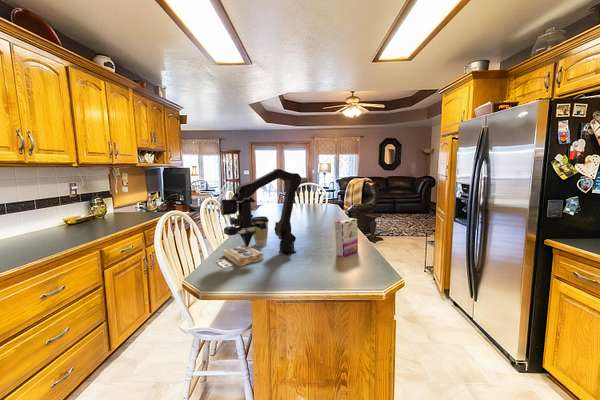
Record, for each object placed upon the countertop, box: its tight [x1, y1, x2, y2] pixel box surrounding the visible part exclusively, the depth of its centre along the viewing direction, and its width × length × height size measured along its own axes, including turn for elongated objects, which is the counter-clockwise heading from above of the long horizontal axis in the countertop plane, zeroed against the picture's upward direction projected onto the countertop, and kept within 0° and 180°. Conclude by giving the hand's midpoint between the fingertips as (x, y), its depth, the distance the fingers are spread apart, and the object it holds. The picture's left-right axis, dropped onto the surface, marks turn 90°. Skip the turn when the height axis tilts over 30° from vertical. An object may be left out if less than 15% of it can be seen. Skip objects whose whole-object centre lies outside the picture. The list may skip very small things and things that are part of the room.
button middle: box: [239, 248, 246, 254], centre depth 128 cm, size 3×3×2 cm
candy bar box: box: [334, 217, 359, 258], centre depth 129 cm, size 11×5×16 cm, turn 131°
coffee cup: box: [252, 215, 270, 247], centre depth 148 cm, size 10×10×15 cm
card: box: [217, 258, 234, 269], centre depth 122 cm, size 4×10×1 cm, turn 38°
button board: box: [222, 244, 264, 267], centre depth 129 cm, size 12×18×3 cm, turn 38°
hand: (246, 246), depth 123 cm, fingers closed
